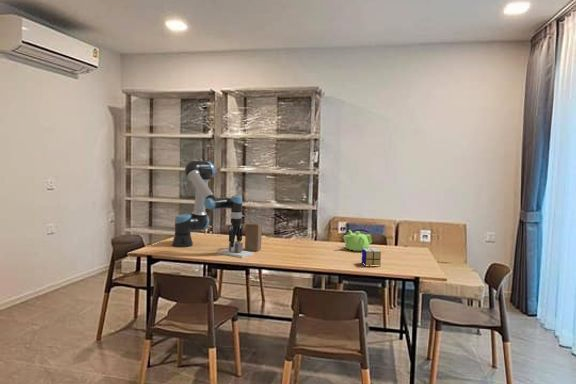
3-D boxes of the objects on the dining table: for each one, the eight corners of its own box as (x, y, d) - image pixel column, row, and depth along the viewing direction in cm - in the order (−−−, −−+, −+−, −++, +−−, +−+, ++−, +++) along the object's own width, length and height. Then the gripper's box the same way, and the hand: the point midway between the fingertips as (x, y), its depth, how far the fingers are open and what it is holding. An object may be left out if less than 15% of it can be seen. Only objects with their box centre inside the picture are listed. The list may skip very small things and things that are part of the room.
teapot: (364, 253, 323) (365, 234, 322) (339, 250, 332) (340, 231, 331) (372, 249, 339) (373, 231, 338) (348, 246, 349) (349, 228, 348)
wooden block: (257, 251, 314) (258, 224, 313) (244, 250, 316) (245, 223, 315) (261, 249, 324) (262, 222, 323) (248, 248, 326) (249, 222, 325)
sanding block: (229, 250, 304) (229, 242, 304) (233, 249, 308) (233, 241, 308) (238, 252, 300) (238, 243, 300) (242, 251, 304) (242, 242, 304)
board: (216, 253, 304) (216, 251, 304) (228, 250, 316) (228, 248, 316) (241, 257, 293) (242, 255, 293) (253, 254, 305) (253, 252, 305)
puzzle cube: (361, 263, 291) (362, 248, 290) (375, 263, 292) (376, 248, 291) (365, 266, 281) (366, 251, 280) (380, 266, 282) (381, 251, 281)
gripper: (232, 219, 293) (231, 253, 295) (248, 217, 309) (247, 249, 310) (223, 218, 297) (222, 252, 299) (239, 216, 313) (238, 248, 314)
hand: (235, 250), depth 304 cm, fingers closed on sanding block, 5 cm apart
